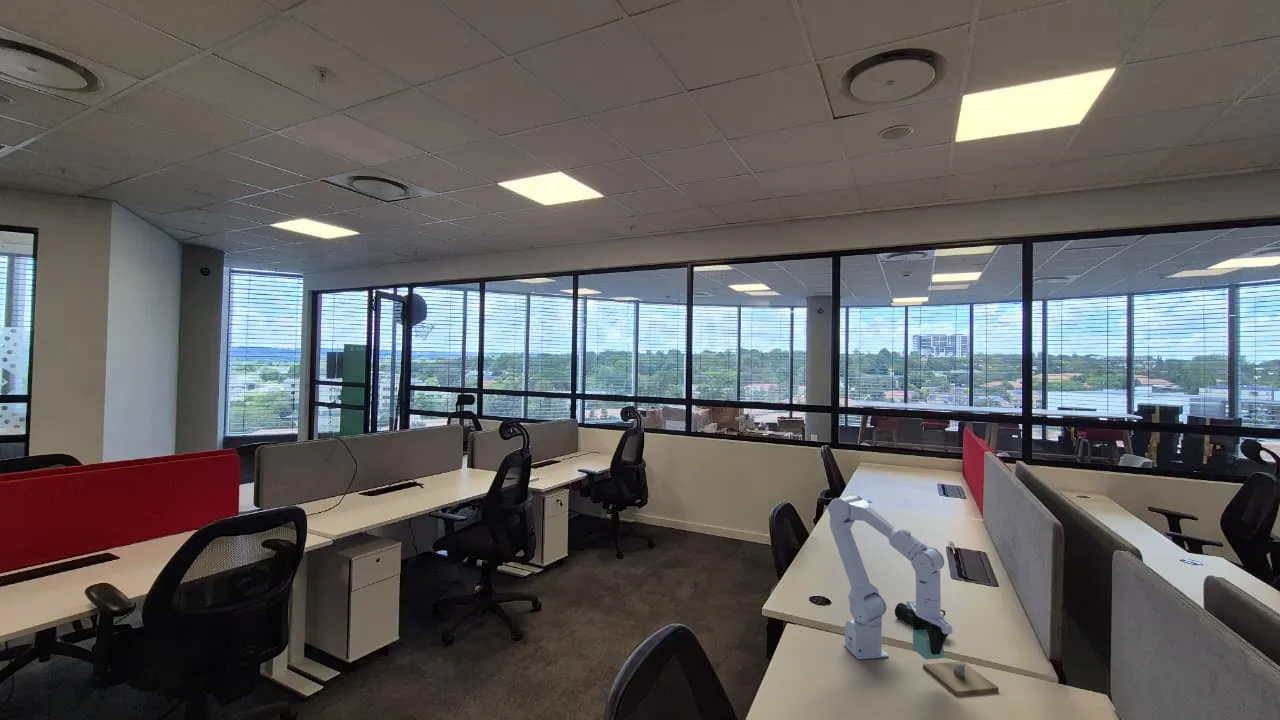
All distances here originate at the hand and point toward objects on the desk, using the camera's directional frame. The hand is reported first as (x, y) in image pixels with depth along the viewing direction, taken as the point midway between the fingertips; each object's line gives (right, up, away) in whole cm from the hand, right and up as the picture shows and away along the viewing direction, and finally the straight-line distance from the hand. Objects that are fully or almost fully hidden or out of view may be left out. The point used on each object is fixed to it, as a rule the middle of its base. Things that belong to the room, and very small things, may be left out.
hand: (928, 647), depth 135 cm
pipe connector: (+16, -10, +29) cm, 35 cm away
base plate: (+8, -9, 0) cm, 12 cm away
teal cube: (0, -2, 0) cm, 2 cm away
